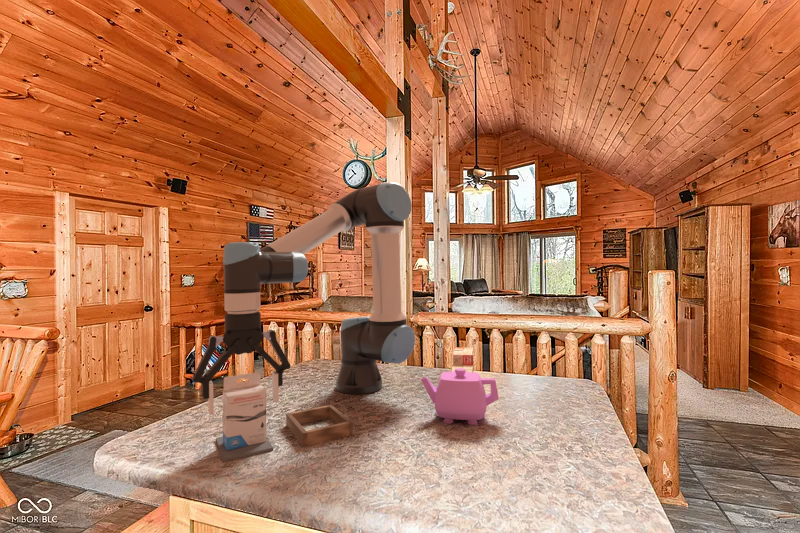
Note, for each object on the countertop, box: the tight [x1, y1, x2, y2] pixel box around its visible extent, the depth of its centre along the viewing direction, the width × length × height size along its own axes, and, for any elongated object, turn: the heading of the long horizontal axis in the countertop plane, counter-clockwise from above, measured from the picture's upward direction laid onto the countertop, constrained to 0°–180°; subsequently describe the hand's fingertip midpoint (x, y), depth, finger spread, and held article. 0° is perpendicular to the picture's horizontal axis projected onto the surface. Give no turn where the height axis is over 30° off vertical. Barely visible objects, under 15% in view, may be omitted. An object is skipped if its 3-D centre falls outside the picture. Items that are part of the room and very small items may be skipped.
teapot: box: [420, 368, 499, 426], centre depth 104 cm, size 20×12×13 cm, turn 80°
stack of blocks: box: [451, 346, 475, 372], centre depth 124 cm, size 21×6×12 cm, turn 169°
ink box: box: [222, 371, 267, 450], centre depth 89 cm, size 8×5×15 cm, turn 123°
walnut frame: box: [285, 404, 354, 448], centre depth 96 cm, size 12×14×3 cm
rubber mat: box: [215, 436, 274, 463], centre depth 88 cm, size 10×12×1 cm
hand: (244, 406), depth 89 cm, fingers open, 13 cm apart
